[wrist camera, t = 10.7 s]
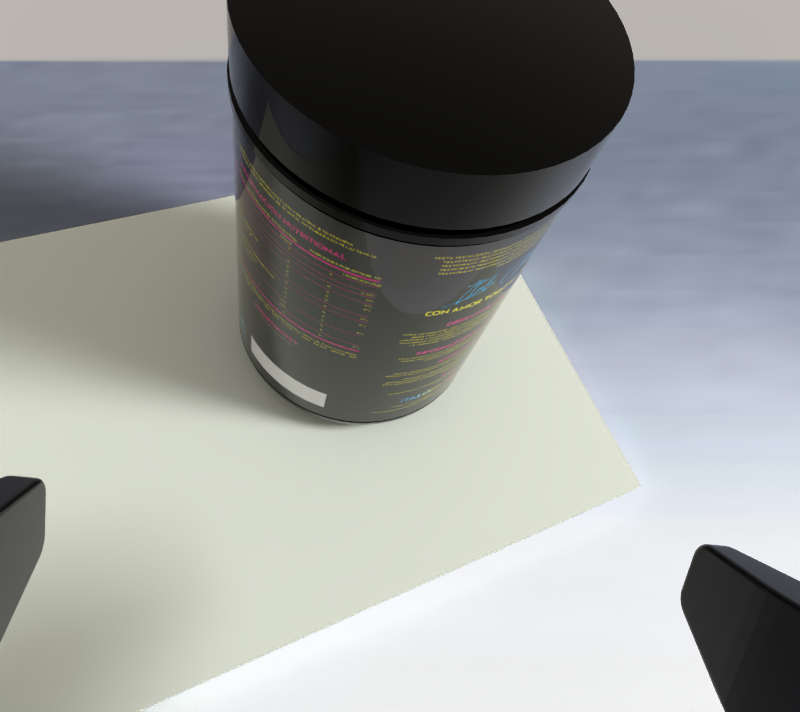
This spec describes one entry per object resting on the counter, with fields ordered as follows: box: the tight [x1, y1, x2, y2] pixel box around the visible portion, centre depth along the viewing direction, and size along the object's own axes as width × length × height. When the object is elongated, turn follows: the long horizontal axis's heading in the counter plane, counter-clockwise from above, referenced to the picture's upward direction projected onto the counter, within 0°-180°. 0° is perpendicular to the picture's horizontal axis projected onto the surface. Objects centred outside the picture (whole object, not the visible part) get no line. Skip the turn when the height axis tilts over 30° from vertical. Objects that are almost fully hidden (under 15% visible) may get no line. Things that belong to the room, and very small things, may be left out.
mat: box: [0, 195, 641, 712], centre depth 19 cm, size 18×13×1 cm
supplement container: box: [227, 0, 635, 425], centre depth 15 cm, size 7×7×10 cm
